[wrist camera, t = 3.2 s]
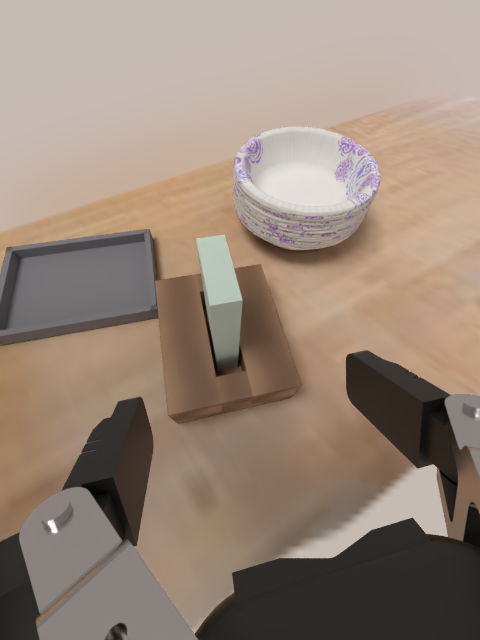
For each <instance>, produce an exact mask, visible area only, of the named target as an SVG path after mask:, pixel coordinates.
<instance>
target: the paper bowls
mask: <svg viewBox="0 0 480 640" xmlns="http://www.w3.org/2000/svg"><path fill="white" fill-rule="evenodd" d="M233 168H234V169H233V170H234V179H233V184H234V204H235V205H234V206H235V209H236V213H237V215H238V217H239V219H240V220H241V222H242V223H243V224H244V225H245V227H246V228H247V229H248V230H249V231H250V232H252V233H253V234H254V235H256V236H258V237H260V238H262V239H263V240H265V241H267V242H270V243H271V244H273V245H275V246H278V247H281V248H284V249H289V250H310V249H320V248H325V247H330V246H333V245H336V244H338V243H340V242H342V241H343V240H345V239H347V238H348V237H349V236H351V235H352V234H353V233H354V232H355V231H356V230H357V228H358V227H359V225H360V224H361V222H362V221H363V219H364V217H365V215H366V213H367V212H368V210H369V207H370V204H371V203H372V201H373V199H374V197H375V195H376V194H377V191H378V188H379V184H380V171H379V168H378V165H377V163H376V161H375V159H374V158H373V157H372V155H371V154H370V153H369V152H368V151H367V150H366V149H365V148H364V147H362V146H361V145H360V144H358V143H357V142H355V141H353V140H352V139H350V138H348V137H345V136H343V135H341V134H338V133H334V132H331V131H328V130H323V129H318V128H311V127H284V128H279V129H274V130H270V131H266V132H264V133H261V134H259V135H257V136H254V137H253V138H251V139H250V140H249V141H247V142H246V143H245V144H244V145H243V146H242V147H241V148H240V150H239V151H238V153H237V155H236V157H235V160H234V166H233Z"/></svg>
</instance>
